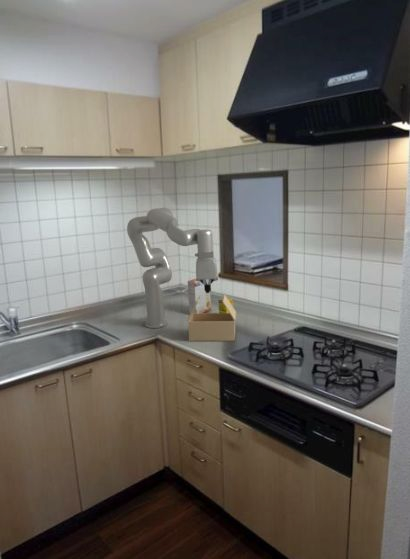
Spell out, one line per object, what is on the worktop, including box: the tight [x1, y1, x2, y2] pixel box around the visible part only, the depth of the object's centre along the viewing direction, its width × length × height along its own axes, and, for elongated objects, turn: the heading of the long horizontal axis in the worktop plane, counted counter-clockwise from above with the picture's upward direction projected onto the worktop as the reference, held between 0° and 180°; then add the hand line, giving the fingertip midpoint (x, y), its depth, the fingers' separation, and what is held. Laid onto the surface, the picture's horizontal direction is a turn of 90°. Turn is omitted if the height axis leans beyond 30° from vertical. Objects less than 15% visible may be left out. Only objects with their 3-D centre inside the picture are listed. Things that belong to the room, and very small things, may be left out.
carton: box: [187, 312, 236, 343], centre depth 212 cm, size 22×14×10 cm, turn 84°
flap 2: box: [222, 293, 237, 322], centre depth 209 cm, size 11×14×1 cm
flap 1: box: [186, 295, 201, 322], centre depth 211 cm, size 11×14×1 cm
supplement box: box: [218, 297, 234, 313], centre depth 242 cm, size 6×6×11 cm
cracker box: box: [187, 278, 212, 315], centre depth 252 cm, size 14×6×21 cm, turn 141°
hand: (207, 292), depth 208 cm, fingers closed
